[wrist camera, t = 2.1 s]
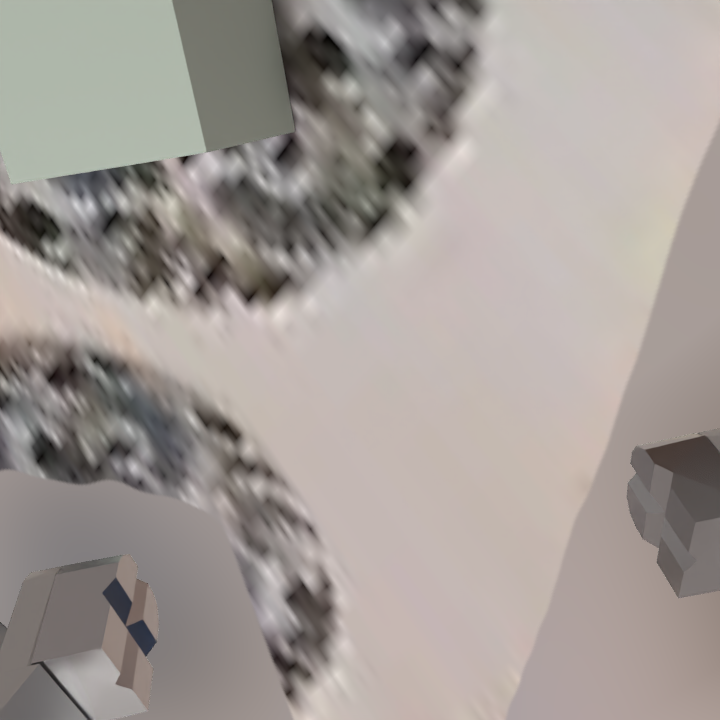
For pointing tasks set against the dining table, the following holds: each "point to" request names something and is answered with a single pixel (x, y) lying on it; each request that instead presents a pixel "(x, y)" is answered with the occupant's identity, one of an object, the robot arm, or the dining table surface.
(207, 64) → the pale green block
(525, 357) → the dining table surface
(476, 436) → the dining table surface
